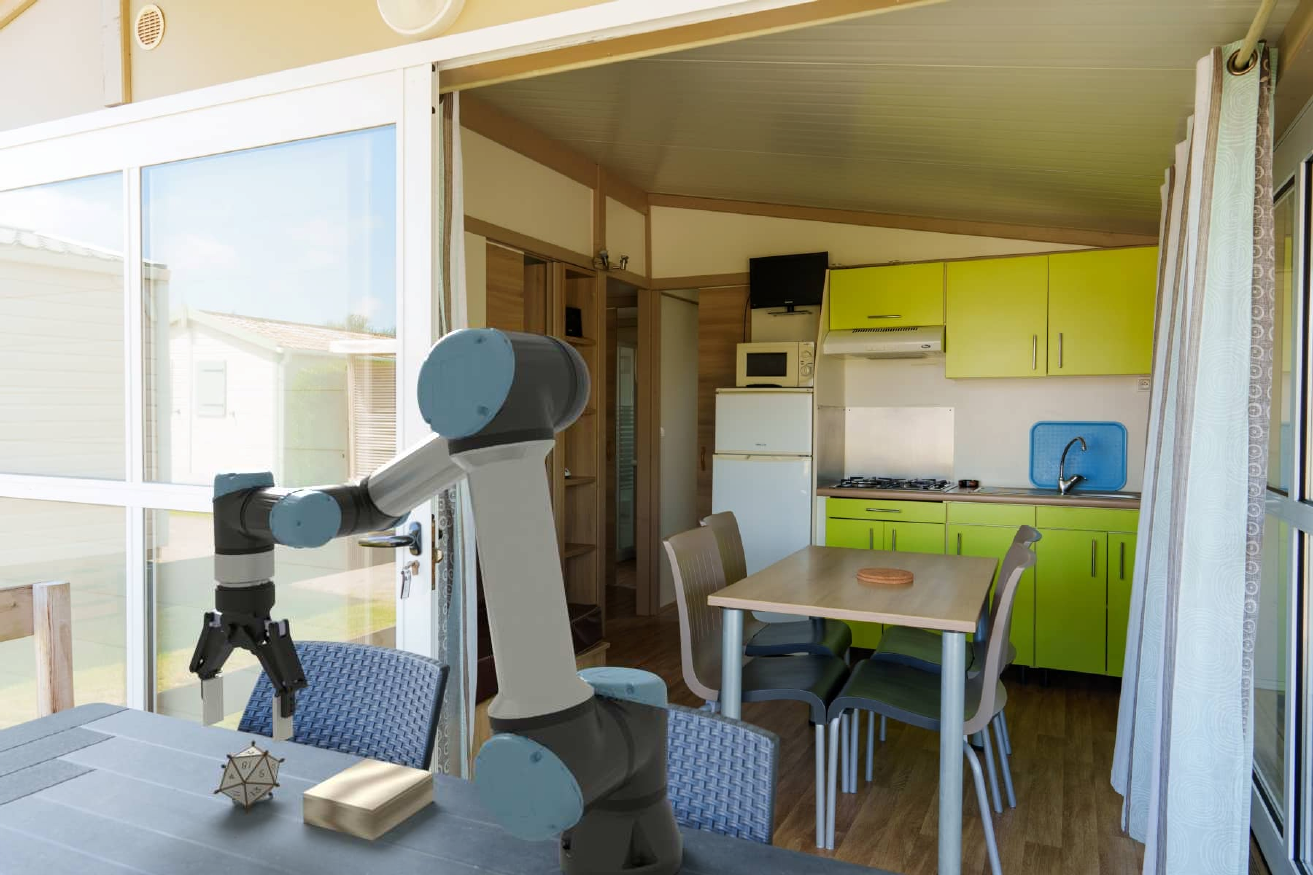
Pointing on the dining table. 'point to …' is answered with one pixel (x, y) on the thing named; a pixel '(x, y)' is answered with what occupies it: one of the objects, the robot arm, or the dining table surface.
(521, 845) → the dining table surface
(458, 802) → the dining table surface
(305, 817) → the birch base
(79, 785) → the dining table surface
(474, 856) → the dining table surface
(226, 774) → the game die
